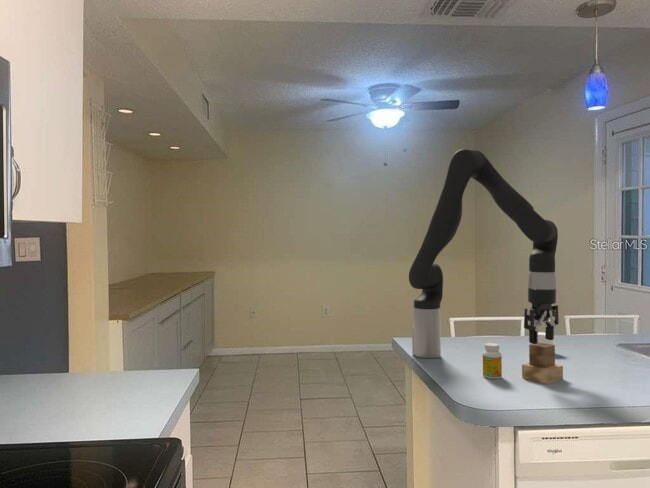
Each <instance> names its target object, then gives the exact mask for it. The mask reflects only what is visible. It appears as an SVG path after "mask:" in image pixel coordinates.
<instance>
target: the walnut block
mask: <svg viewBox="0 0 650 488" xmlns="http://www.w3.org/2000/svg"><path fill="white" fill-rule="evenodd" d="M528 349H529V353H528V355H529V356H528V358H529V362H528V363H529V365H533V366H537V367H542V368H548V367H552V366H555V364H556V345H555V344H553V345H551V344H545V343H540V342H538V343H537V344H532V343H529V345H528Z"/></svg>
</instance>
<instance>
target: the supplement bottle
mask: <svg viewBox="0 0 650 488" xmlns="http://www.w3.org/2000/svg"><path fill="white" fill-rule="evenodd" d="M484 349H485V350H484V351H483V352H482V377H484V378H486V379H490V380H495V379H496V380H500V379H501V378H503V377H502V376H503V375H502V373H503V369H502V368H503V367H502V364H503V362H502V361H503V360H502V358H503V355H502V353H501V352H500V351H499V349H500V345H499V344H498V343H495V342H493V343H492V342H491V343H489V342H487V343H485V344H484Z"/></svg>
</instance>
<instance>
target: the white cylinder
mask: <svg viewBox="0 0 650 488" xmlns="http://www.w3.org/2000/svg"><path fill="white" fill-rule="evenodd" d="M545 334H546V331H538V342H540V343H545V344H551V345H554V339H553V340H547V339H546V338H545Z"/></svg>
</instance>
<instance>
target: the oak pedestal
mask: <svg viewBox="0 0 650 488" xmlns="http://www.w3.org/2000/svg"><path fill="white" fill-rule="evenodd" d="M563 367H564V365H560V364H556V363H555V366H552V367H548V368H542V367H537V366H533V365H529V362H527V363H522V364H521V377H522V379H526V380H529V381H532V382H533V381H534V382H537V383H541V384H544V385H550V384H553V383H556V382H560V381H562V380H564V368H563Z"/></svg>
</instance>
